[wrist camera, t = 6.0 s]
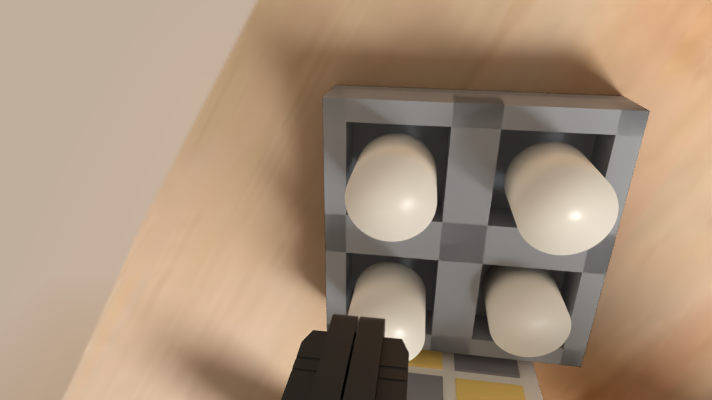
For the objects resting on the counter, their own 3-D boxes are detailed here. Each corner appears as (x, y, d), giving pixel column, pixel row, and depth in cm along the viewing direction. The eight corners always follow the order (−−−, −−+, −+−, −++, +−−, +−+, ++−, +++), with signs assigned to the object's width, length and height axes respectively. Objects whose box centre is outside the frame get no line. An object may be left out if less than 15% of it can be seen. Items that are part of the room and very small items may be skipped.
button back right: (560, 259, 29) (578, 297, 25) (547, 317, 31) (563, 361, 27) (486, 253, 30) (494, 290, 26) (478, 310, 31) (484, 352, 28)
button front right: (599, 143, 24) (629, 170, 20) (581, 221, 26) (606, 259, 22) (509, 138, 24) (523, 164, 21) (498, 215, 26) (509, 251, 23)
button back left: (428, 264, 28) (427, 305, 25) (423, 324, 30) (422, 369, 26) (355, 258, 29) (344, 297, 25) (354, 317, 31) (344, 361, 27)
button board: (623, 96, 26) (710, 145, 18) (561, 350, 33) (603, 468, 25) (334, 85, 28) (294, 124, 20) (336, 326, 35) (308, 428, 27)
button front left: (439, 135, 25) (440, 160, 21) (433, 210, 27) (433, 245, 23) (357, 131, 26) (344, 154, 22) (356, 205, 27) (344, 238, 24)
